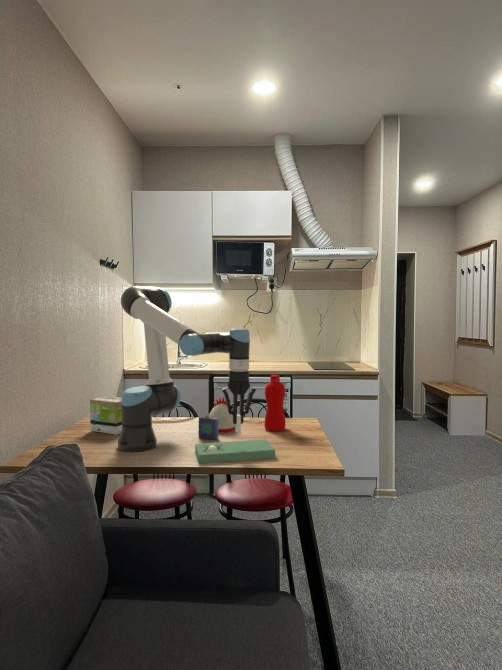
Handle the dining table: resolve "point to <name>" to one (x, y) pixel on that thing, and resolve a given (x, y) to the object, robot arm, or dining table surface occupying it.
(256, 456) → the putting mat
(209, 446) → the ball
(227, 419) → the kitchen timer
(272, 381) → the water bottle
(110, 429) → the tea box
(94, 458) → the dining table surface
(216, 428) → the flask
